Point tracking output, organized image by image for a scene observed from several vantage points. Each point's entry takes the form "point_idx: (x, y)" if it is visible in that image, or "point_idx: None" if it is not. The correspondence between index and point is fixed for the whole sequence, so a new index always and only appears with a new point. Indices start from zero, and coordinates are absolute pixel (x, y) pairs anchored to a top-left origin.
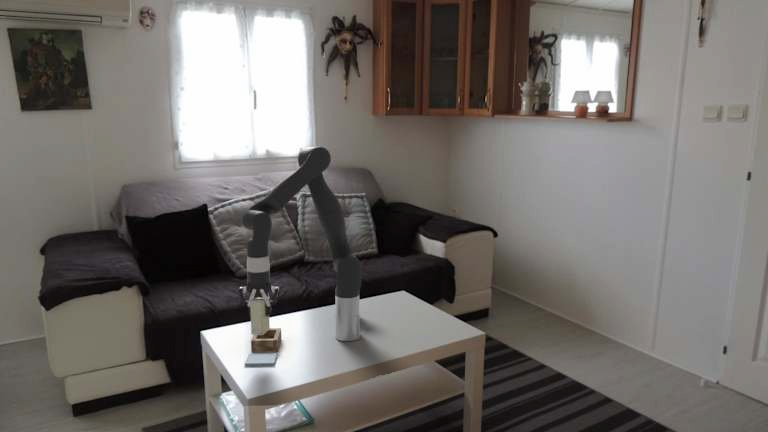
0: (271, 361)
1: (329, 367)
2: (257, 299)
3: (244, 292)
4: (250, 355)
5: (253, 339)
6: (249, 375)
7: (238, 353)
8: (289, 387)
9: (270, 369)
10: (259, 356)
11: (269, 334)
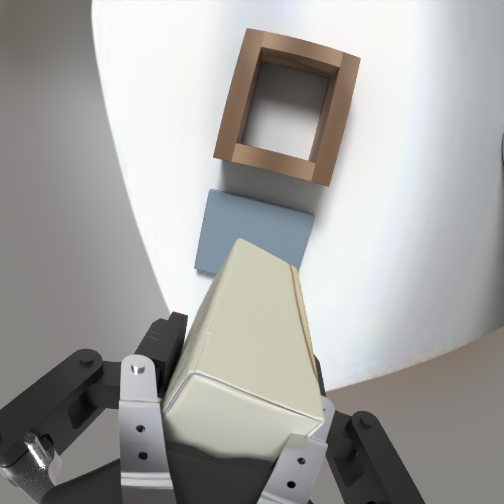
0: None
1: (426, 330)
2: None
3: (54, 462)
4: (214, 209)
5: (224, 148)
6: None
7: (175, 154)
8: None
9: None
10: (247, 226)
11: (304, 63)
